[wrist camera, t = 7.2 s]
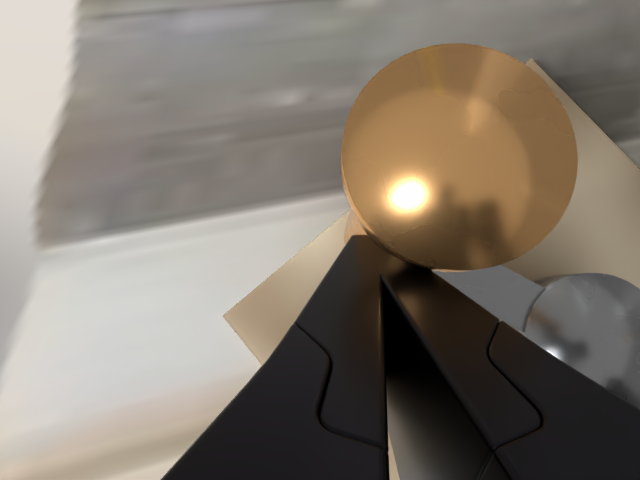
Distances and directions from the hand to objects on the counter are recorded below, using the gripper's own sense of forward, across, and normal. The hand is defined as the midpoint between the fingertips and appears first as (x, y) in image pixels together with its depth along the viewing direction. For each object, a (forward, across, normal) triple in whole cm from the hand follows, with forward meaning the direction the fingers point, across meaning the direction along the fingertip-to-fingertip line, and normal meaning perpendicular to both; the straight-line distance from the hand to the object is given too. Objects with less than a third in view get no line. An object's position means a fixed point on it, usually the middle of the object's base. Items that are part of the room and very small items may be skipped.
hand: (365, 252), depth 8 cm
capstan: (+3, +6, -7) cm, 10 cm away
